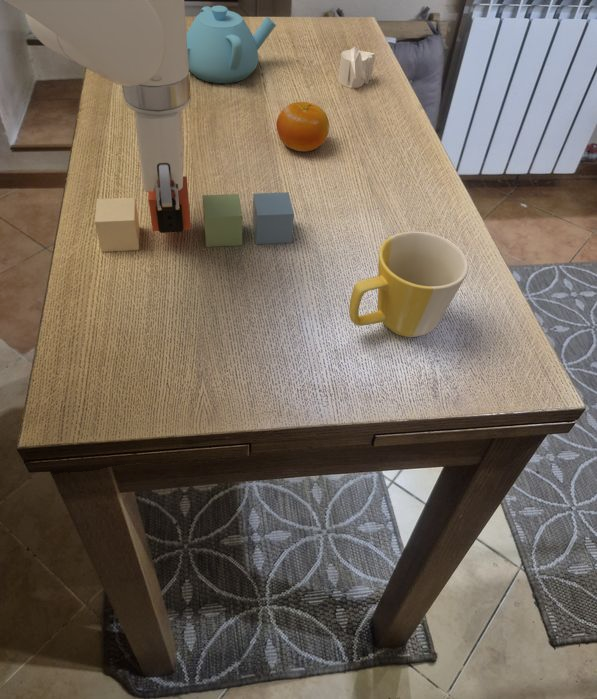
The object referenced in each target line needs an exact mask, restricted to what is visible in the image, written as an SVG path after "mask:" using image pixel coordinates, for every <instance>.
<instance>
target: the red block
mask: <svg viewBox="0 0 597 699" xmlns="http://www.w3.org/2000/svg"><path fill="white" fill-rule="evenodd" d="M158 184H160V181H158ZM170 184H174V181H170ZM188 186H189V184H188V177H187V176H185V175H183V188H182V189H181V190H179V191H178V195H179V205H181V206H182V217H183V228H184V230H183V231H188V230H191V229H192V227H191V226H192V225H191V211H190V210H191V209H190V198H189V188H188ZM160 193H161V192H160ZM147 195H148V206H149V213H150V214H149V215H150V221H151V228H152V232H159V227H158V220H157V212H156V206H157V199H156V190H155V188H154V191H149V192H147ZM171 195H172V198H173V197H174V191H171ZM174 200H175V198H174Z"/></svg>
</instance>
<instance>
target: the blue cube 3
mask: <svg viewBox="0 0 597 699" xmlns="http://www.w3.org/2000/svg"><path fill="white" fill-rule="evenodd" d="M294 220H295V212H294V208H293V204H292V199H291V196H290V193H289V192H285V191H284V192H261V193H260V192H256V193H252V227H253V232H254V237H255V244H256V245H272V244H273V245H276V244H292V243H293V233H294V232H293V230H294Z"/></svg>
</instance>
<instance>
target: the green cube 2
mask: <svg viewBox="0 0 597 699" xmlns="http://www.w3.org/2000/svg"><path fill="white" fill-rule="evenodd" d="M201 199H202V213H203V214H202V215H203V229H204V238H205V240H204V241H205V247H207V248H212V247H231V246H243V214H242V213H243V211H242V205H241V200H240V199H241V198H240V194H239V193H232V194H231V193H230V194H229V193H227V194H203V195H202V198H201Z"/></svg>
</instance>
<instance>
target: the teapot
mask: <svg viewBox="0 0 597 699" xmlns="http://www.w3.org/2000/svg"><path fill="white" fill-rule="evenodd" d="M276 26H277V24H276V23H275V22H274V21H273V20H272V19H271V18H270V17H268V16H266V17H264V19H263V21H262V22H261V24H260V25H259V27H258V28H257V29H256V31H255V32H254V34H253V32H252V31H251V30H250V28H249V26H248V24H247V22H246V20H244V18H243V17H242V16H241V15H240V14H239V13H237V12H235V11H233V10H232V11H231V10H229V9H228V7H227V6H224V5H213V6H212V7H211V6H208V5H207V6H203V7H201V8H200V12H199V13H198V14H197V15H196V16H195V18H194V19H193V21H192V23H191V24H190V26H189V28H188V30H187V31H186V34H187V49H188V63H189V73H191V74H192V75H193V76H194V77H196V78H197V79H199V80H201V81H204V82H209V83H214V84H232V83H238V82H241V81H243V80H246V79H247V78H248V77H250V75H251V74H252V73H253V72H254V71H255V70H256V69H257V67H258V64H259V52H258V51H259V49H260V48H261V47H262V45H263V44H264V43H265V41H266V40H267V38H268V37H269V36H270V35H271V33H272V32H273V31H274V29H275V27H276Z"/></svg>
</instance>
